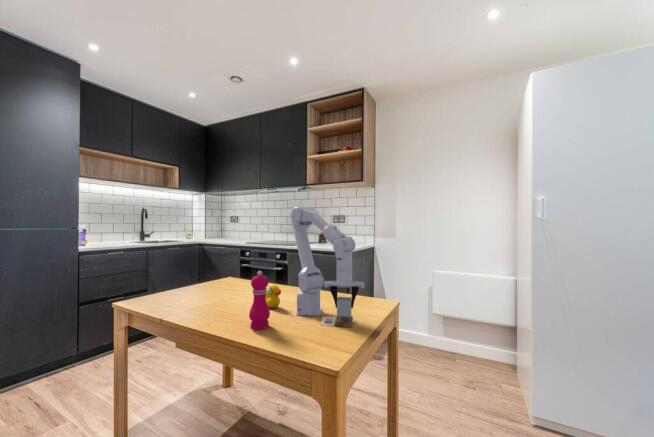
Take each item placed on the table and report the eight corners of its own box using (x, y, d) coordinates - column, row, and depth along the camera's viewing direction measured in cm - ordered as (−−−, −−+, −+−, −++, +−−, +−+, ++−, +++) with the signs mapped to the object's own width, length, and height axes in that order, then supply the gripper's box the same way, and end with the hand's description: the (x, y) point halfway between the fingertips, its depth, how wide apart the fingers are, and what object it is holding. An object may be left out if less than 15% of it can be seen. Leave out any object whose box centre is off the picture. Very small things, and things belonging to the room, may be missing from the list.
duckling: (285, 309, 117) (285, 286, 117) (274, 312, 114) (274, 288, 114) (271, 303, 126) (271, 281, 126) (260, 306, 122) (260, 283, 122)
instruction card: (320, 325, 99) (320, 324, 99) (323, 317, 107) (323, 316, 107) (334, 325, 99) (334, 324, 99) (336, 317, 107) (336, 317, 107)
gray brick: (336, 315, 98) (336, 300, 98) (338, 311, 103) (338, 296, 103) (350, 316, 97) (350, 301, 97) (351, 311, 102) (351, 297, 102)
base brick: (335, 326, 98) (335, 321, 98) (336, 320, 104) (336, 315, 104) (352, 327, 97) (352, 321, 97) (352, 321, 103) (352, 315, 103)
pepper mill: (259, 332, 93) (259, 273, 93) (244, 328, 97) (244, 271, 97) (274, 325, 99) (274, 270, 99) (259, 321, 103) (259, 268, 103)
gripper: (323, 271, 98) (323, 309, 97) (364, 272, 96) (364, 311, 96) (325, 268, 105) (325, 304, 104) (363, 268, 103) (364, 305, 103)
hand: (344, 307), depth 101 cm, fingers closed on gray brick, 5 cm apart
